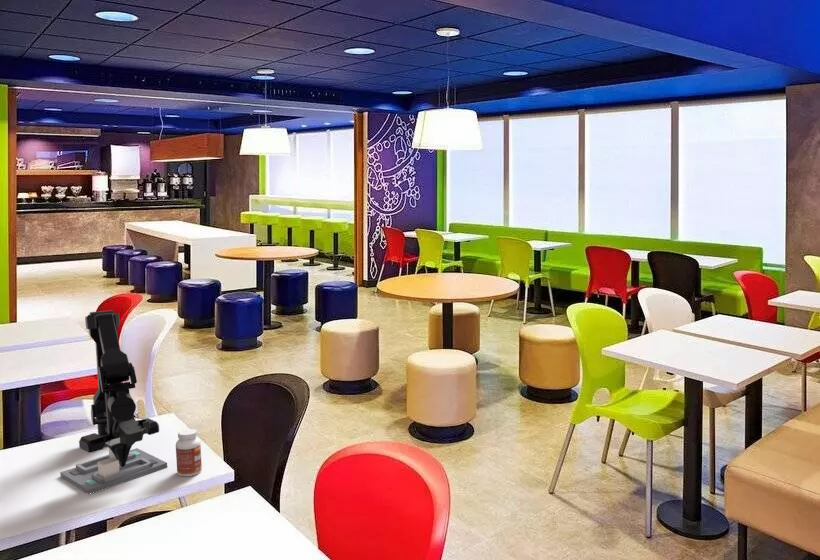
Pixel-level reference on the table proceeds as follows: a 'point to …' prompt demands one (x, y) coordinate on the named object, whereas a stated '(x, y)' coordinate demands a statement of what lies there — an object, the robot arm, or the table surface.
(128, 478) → the switch board
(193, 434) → the pill bottle
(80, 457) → the table surface
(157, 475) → the table surface
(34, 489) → the table surface
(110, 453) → the tab
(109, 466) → the tab
